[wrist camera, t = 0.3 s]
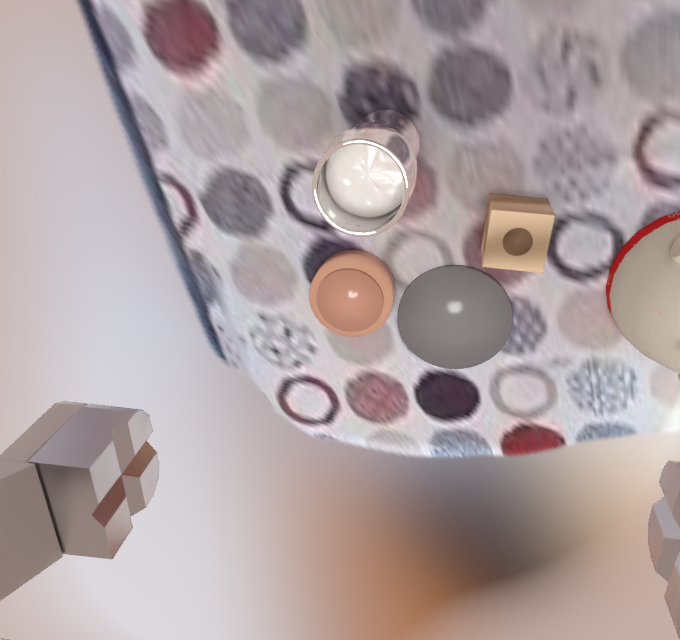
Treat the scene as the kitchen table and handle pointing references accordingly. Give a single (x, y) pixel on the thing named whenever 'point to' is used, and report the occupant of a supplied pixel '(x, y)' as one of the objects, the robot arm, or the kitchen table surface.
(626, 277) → the kitchen timer
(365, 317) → the ramekin
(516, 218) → the oak block
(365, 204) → the beer glass
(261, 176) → the kitchen table surface
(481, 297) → the coaster
